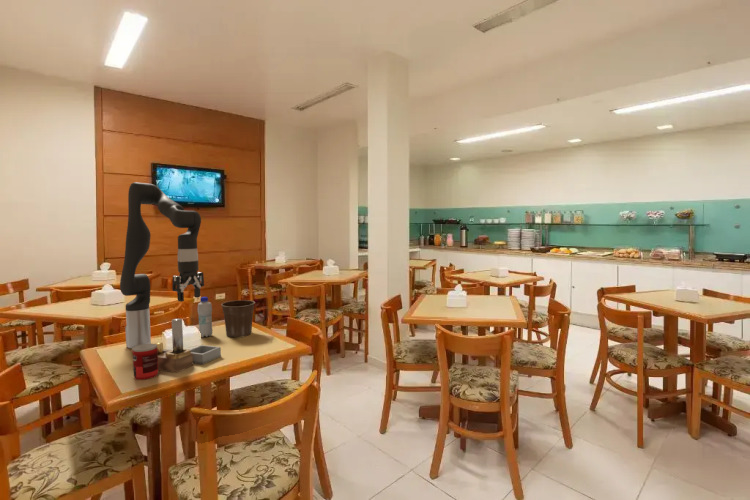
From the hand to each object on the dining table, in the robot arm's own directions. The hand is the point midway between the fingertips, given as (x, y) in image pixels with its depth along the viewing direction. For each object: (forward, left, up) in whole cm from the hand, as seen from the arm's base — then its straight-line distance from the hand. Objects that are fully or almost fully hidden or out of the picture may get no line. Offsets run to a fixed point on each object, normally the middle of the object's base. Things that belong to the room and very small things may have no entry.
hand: (189, 299), depth 158 cm
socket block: (-2, -9, -25) cm, 27 cm away
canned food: (-2, -19, -25) cm, 32 cm away
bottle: (-20, +29, -25) cm, 43 cm away
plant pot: (-6, +37, -25) cm, 45 cm away
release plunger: (-7, -9, -22) cm, 25 cm away
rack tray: (+4, +2, -25) cm, 26 cm away
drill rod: (+3, -9, -20) cm, 22 cm away
